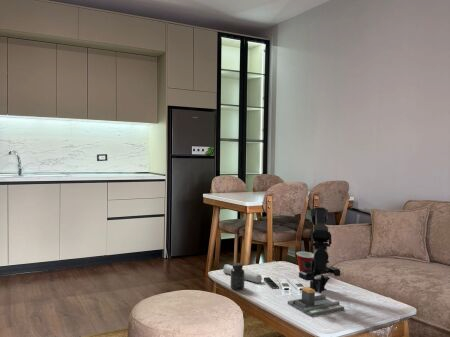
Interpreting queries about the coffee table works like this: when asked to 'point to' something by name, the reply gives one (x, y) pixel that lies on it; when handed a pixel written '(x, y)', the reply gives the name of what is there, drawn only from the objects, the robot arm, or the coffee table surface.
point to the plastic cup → (304, 258)
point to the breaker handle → (308, 296)
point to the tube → (247, 274)
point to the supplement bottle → (237, 277)
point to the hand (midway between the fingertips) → (319, 292)
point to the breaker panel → (317, 306)
